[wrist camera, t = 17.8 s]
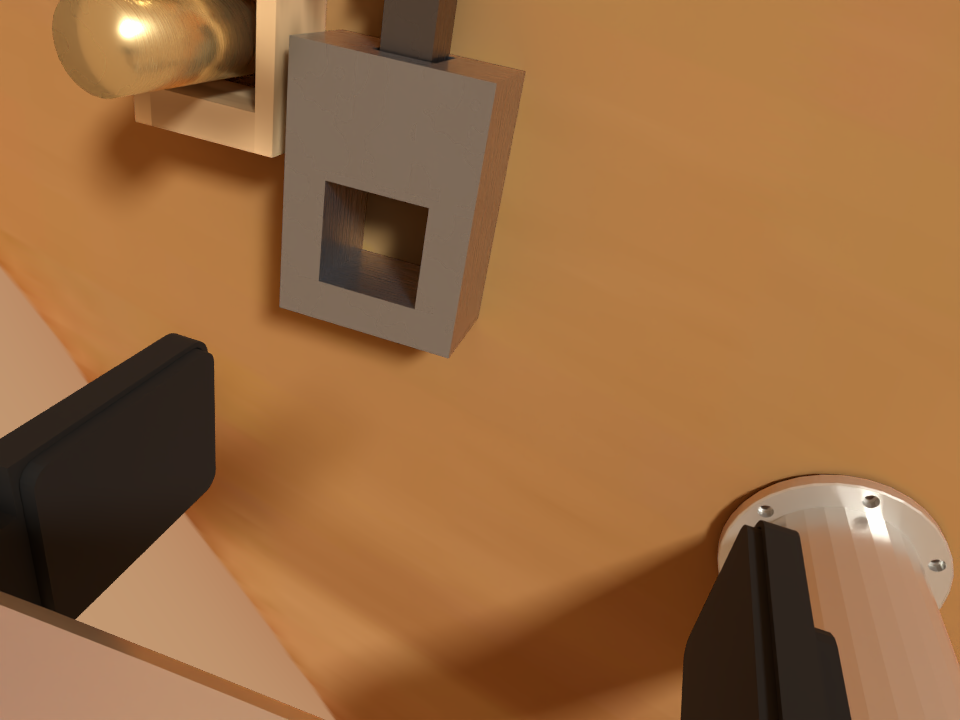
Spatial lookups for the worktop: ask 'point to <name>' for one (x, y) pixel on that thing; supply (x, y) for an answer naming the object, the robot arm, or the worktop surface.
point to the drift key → (418, 28)
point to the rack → (241, 88)
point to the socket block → (392, 184)
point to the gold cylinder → (153, 43)
